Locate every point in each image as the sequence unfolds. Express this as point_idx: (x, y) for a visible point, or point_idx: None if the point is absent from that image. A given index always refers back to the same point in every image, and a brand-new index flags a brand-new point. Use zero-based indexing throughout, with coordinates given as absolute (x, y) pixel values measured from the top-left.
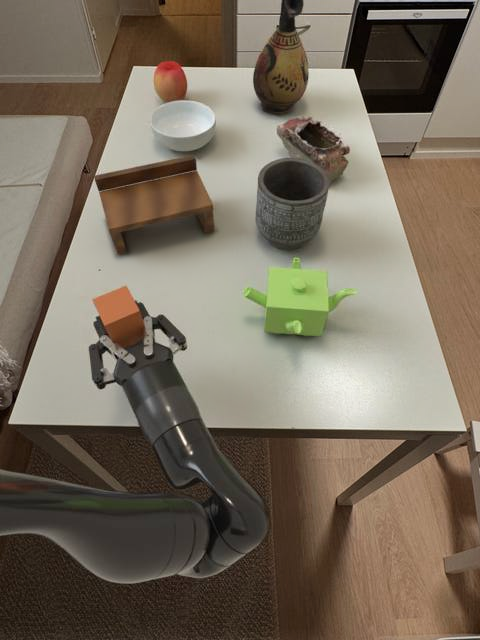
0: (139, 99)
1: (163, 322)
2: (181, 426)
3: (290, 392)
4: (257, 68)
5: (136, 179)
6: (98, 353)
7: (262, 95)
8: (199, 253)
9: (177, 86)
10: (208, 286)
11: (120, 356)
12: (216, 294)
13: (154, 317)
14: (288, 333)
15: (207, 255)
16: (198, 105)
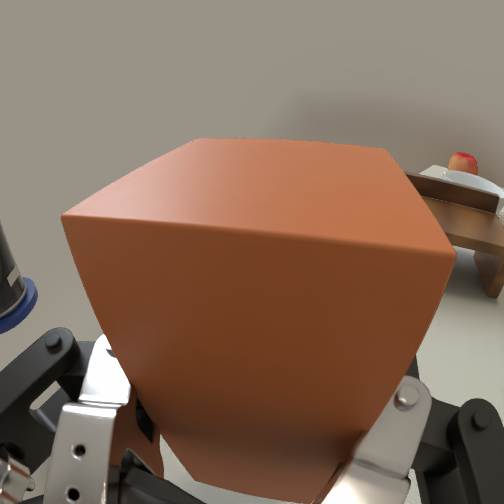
0: (430, 175)
1: (484, 457)
2: None
3: None
4: None
5: (423, 190)
6: (37, 381)
7: None
8: (474, 319)
9: (469, 170)
10: (476, 377)
11: (48, 500)
12: (485, 398)
13: (440, 402)
14: None
15: (485, 327)
16: (489, 184)
